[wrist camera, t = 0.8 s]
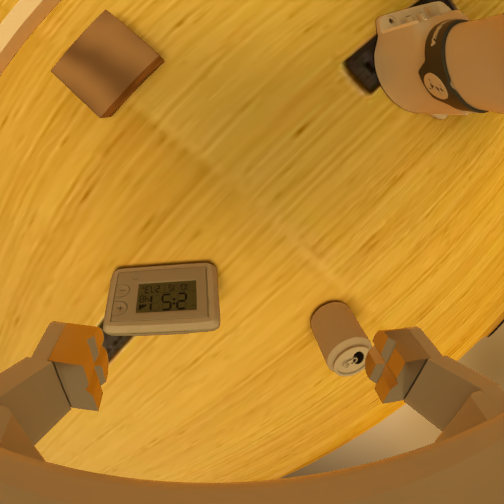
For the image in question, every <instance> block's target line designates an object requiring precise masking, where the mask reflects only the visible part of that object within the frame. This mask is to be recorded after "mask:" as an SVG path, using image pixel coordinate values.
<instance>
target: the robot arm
mask: <svg viewBox="0 0 504 504" xmlns="http://www.w3.org/2000/svg"><path fill="white" fill-rule="evenodd" d="M389 20H391V22H392V23H390V22H389ZM376 28H377V33H378V40H377V44H376V48H375V54H374V62H375V69H376V73H377V76H378V79H379V82H380V84H381V86H382V87H383V89H384V91H385V92H386V94H387V95H388V96H389V97H390V99H391V100H392V101H393V102H395V103H396V104H397V105H398V106H400V107H401V108H403V109H405V110H407V111H410V112H414V113H427V114H429V115H431V116H432V117H434V118H436V119H445V118H446V117H447V116H448V115H467V114H469V112H470V113H485V112H489V111H491V112H497V113H502V114H504V13H502V14H499V15H496V16H492V17H488V18H483V19H479V20H473V21H471V20H470V19H469V18H468V17H467V16H466V15H465V14H464V13H462V12H461V11H459V10H453V11H452V10H451V9H450V8H449V7H448V6H447V5H445V4H444V3H443V2H441V1H437V2H431V3H427V4H422V5H418V6H414V7H411V8H407V9H403V10H400V11H396V12H393V13H389V14H386V15H383V16H380V17H378V18H377V20H376ZM103 340H104V337H103V332H102V329H101V328H100V327H94V326H86V325H78V324H71V323H63V322H56V321H53V322H51V323H50V324H49V326H48V328H47V329H46V331H45V333H44V335H43V336H42V338H41V340H40V342H39V344H38V346H37V348H36V349H35V351H34V353H33V355H32V357H31V358H29V357H26V358H25V359H23V360H21V361H20V362H18V363H16V364H15V365H13V366H12V367H10V368H8V369H7V370H5V371H4V372H2V373H0V504H504V391H503V389H502V388H501V387H500V386H499V384H498V383H496V382H494V381H493V380H491V379H489V378H487V377H485V376H483V375H481V374H479V373H478V372H476V371H474V370H472V369H470V368H468V367H466V366H464V365H463V364H461V363H459V362H457V361H455V360H453V359H451V358H449V357H448V356H442V355H441V353H440V352H439V351H438V350H437V348H436V347H435V346H434V345H433V343H432V342H431V341H430V340H429V338H428V337H427V336H426V335H425V334H424V332H423V331H422V330H421V329H420V328H418V327H407V328H401V329H391V330H379V331H378V332H377V333H376V334H375V336H374V339H373V343H374V346H373V347H372V348H371V349H370V350H369V351H368V353H367V356H366V358H365V370H366V373H367V375H368V377H369V379H370V380H372V381H373V382H375V383H376V385H375V391H376V392H377V394H378V396H379V398H380V400H381V402H382V404H383V403H389V402H395V401H400V400H404V402H406V403H407V404H408V405H409V406H411V407H412V408H413V409H414V410H416V411H417V412H418V413H420V414H421V415H422V416H424V417H425V418H426V419H427V420H428V421H430V422H431V423H432V424H434V425H435V426H436V427H437V428H439V429H440V430H441V431H442V433H441V434H440V435H439V437H438V438H437V439H436V440H435V443H433V444H430V445H427V446H425V447H422V448H419V449H416V450H413V451H409V452H406V453H403V454H400V455H397V456H393V457H390V458H387V459H383V460H379V461H375V462H371V463H367V464H363V465H359V466H355V467H350V468H345V469H340V470H336V471H330V472H325V473H320V474H313V475H306V476H300V477H292V478H284V479H275V480H264V481H250V482H230V483H186V482H166V481H153V480H142V479H133V478H125V477H118V476H111V475H105V474H99V473H93V472H88V471H83V470H78V469H73V468H69V467H65V466H61V465H56V464H53V463H49V462H46V461H45V460H44V458H43V457H42V455H41V454H40V453H39V451H38V450H37V449H36V447H35V446H34V445H35V444H36V443H37V442H38V441H39V440H40V439H41V438H42V437H43V436H44V435H45V434H46V433H47V432H48V431H49V430H50V429H51V428H52V427H53V426H54V425H55V424H56V423H57V422H58V421H59V420H61V419H62V418H63V417H64V416H65V415H66V414H67V413H68V412H69V411H70V410H71V407H72V408H79V409H86V410H94V411H99V407H100V403H101V399H102V395H103V392H102V389H101V385H102V384H104V383H105V382H106V379H107V375H108V355H107V351H106V350H105V349H104V348H103V346H102V343H103Z"/></svg>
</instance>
